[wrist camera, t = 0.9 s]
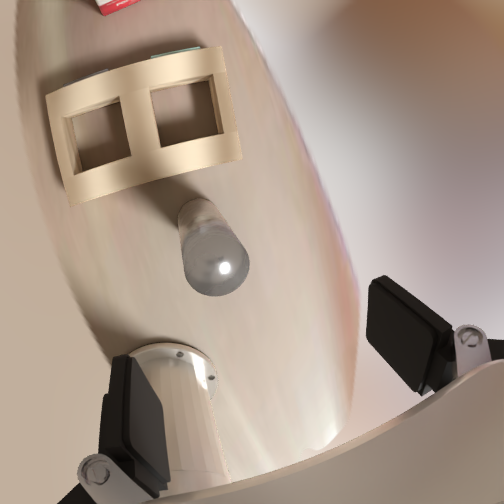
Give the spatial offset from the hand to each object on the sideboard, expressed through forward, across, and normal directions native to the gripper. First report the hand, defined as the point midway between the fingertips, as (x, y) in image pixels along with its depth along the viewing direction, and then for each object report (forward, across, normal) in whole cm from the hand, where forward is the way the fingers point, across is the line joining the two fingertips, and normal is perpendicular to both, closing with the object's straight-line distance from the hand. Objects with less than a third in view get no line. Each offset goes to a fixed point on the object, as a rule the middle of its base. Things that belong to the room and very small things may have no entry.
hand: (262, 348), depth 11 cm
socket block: (+19, +3, -10) cm, 22 cm away
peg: (+19, 0, 0) cm, 19 cm away
